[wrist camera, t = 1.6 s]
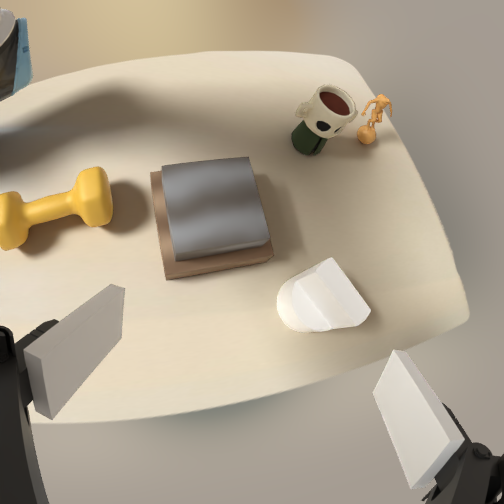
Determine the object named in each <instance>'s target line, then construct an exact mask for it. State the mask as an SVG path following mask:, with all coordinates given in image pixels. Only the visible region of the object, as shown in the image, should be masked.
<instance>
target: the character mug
mask: <svg viewBox="0 0 504 504" xmlns="http://www.w3.org/2000/svg"><path fill="white" fill-rule="evenodd" d="M304 109H305V110H304ZM303 111H304V112H303ZM357 114H358V111H357V110H356V107H355V103H354V101H353V100H352V98H351V97H350V96H349V95H348V94H347V93H346V92H345V91H343V90H342V89H340V88H338V87H336V86H332V85H323V86H321V87H319V88H318V89H317V91H316V92H315V94H314V95H313V97H312V98H311V100H310V102H309V103H307V102H303V103H301V104H300V106H299V107H298V109H297V111H296V116H298V117H304V120H303V121H302V122H301V123H300V124H299V125H298V126H297V127H296V129H295V130H294V131H293V133H292V142H293V144H294V147H295V148H296V149H297V150H298V151H299V152H301V153H303V154H305V155H309V154H310V152H311V151H315V153H314V154H313V155H316V154H318V153H320V151H321V149H322V148H323V146H324V144H325V143H326V141H327V139H328V138H331V137H334V136H336V135H338V134H339V133H340V132H341V131H342V130H343V128H344V127H345V125H346V124H348V123H350V122H352V121H353V119H354V118H355V117H356V116H357Z"/></svg>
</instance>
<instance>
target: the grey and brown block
mask: <svg viewBox="0 0 504 504" xmlns="http://www.w3.org/2000/svg"><path fill="white" fill-rule="evenodd" d="M150 176H151V188H152V196H153V203H154V210H155V217H156V224H157V230H158V237H159V243H160V249H161V255H162V260H163V266H164V271H165V277H166V280H170V279H176V278H182V277H187V276H192V275H198V274H203V273H209V272H214V271H220V270H225V269H230V268H236V267H241V266H246V265H252V264H257V263H262V262H266V261H267V260H269V259H270V258H271V257H272V256H274V253H273V249H272V245H271V241H270V235H269V231H268V227H267V223H266V220H265V216H264V212H263V208H262V205H261V201H260V197H259V193H258V190H257V186H256V182H255V179H254V175H253V171H252V167H251V164H250V160H249V157H240V158H228V159H217V160H207V161H198V162H189V163H180V164H172V165H165V166H162V171H157V172H150Z"/></svg>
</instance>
